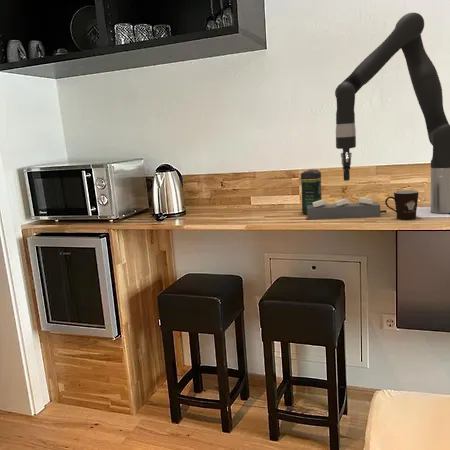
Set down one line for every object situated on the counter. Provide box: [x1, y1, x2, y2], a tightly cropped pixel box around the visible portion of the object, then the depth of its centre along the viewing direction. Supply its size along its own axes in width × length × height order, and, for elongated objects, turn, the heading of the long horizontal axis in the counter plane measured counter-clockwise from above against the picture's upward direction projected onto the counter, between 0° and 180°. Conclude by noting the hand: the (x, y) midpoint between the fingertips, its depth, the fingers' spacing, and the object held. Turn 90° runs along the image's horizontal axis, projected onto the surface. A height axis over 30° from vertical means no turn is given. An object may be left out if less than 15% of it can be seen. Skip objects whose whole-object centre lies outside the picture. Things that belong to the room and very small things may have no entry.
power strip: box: [306, 201, 388, 221], centre depth 194 cm, size 31×8×5 cm, turn 80°
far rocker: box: [313, 198, 327, 207], centre depth 193 cm, size 5×4×2 cm
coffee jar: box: [300, 169, 323, 215], centre depth 205 cm, size 10×8×19 cm
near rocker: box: [358, 196, 375, 205], centre depth 190 cm, size 5×4×2 cm
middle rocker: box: [335, 197, 351, 206], centre depth 192 cm, size 5×4×2 cm
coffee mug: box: [385, 189, 420, 221], centre depth 180 cm, size 12×9×10 cm
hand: (346, 180), depth 191 cm, fingers closed
